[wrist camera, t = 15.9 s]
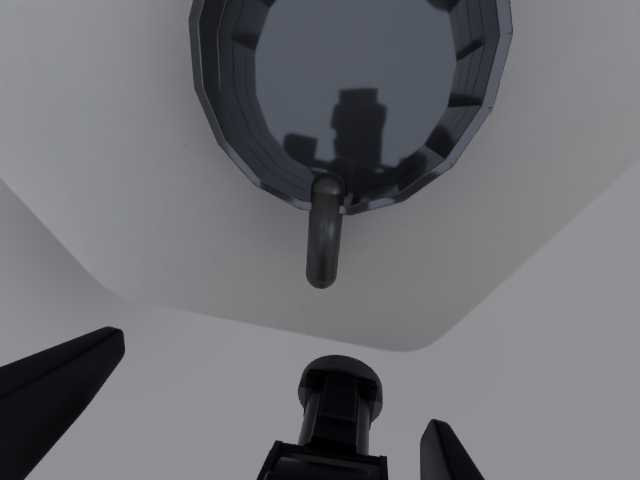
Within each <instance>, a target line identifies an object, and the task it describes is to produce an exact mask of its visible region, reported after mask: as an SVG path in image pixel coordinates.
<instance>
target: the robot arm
mask: <svg viewBox="0 0 640 480" xmlns="http://www.w3.org/2000/svg"><path fill="white" fill-rule="evenodd" d="M124 353H125V344H124V334H123V331H122V330H121V329H118V328H114V327H110V326H107V327H104V328H101V329H98V330H96V331H93V332H91V333H88V334H85V335H83V336H80V337H78V338H75V339H72V340H70V341H67V342H65V343H62V344H59V345H57V346H54V347H52V348H49V349H46V350H44V351H41V352H38V353H36V354H33V355H31V356H28V357H25V358H23V359H20V360H18V361H15V362H13V363H10V364H7V365H5V366H2V367H0V480H24V479H25V478H26V477H27V476H28V475H29V473H30V472H31V471H32V470H33V469H34V468H35V466H36V465H37V464H38V463H39V462H40V461H41V460H42V458H43V457H44V456H45V455H46V454H47V453H48V451H49V450H50V449H51V448H52V447H53V446H54V445H55V443H56V442H57V441H58V440H59V439H60V438H61V436H62V435H63V434H64V433H65V432H66V431H67V430H68V428H69V427H70V426H71V425H72V424H73V423H74V422H75V420H76V419H77V418H78V417H79V416H80V415H81V413H82V412H83V411H84V410H85V408H86V407H87V406H88V405H89V403H90V402H91V401H92V399H93V398H94V397H95V395H96V394H97V392H98V391H99V390H100V388H101V387H102V386H103V384H104V383H105V382H106V380H107V379H108V377H109V376H110V375H111V373H112V372H113V370H114V369H115V368H116V366H117V365H118V364H119V362H120V361H121V359H122V358H123V356H124ZM312 374H313V375H312ZM371 385H373V386H371ZM377 391H378V383H377V381H375V380H371V379H366V378H361V377H355V376H350V375H345V374H339V373H334V372H329V371H323V370H318V369H312V368H311V369H308V371H307V374H306V388H305V402H304V420H303V424H302V428H301V433H300V437H299V441H298V445H296V444H289V443H283V442H282V441H277V440H276V441H275V443H274V445H273V447H272V449H271V450H270V452H269V454H268V456H267V458H266V460H265V462H264V465H263V467H262V469H261V471H260V473H259V475H258V478H257V480H388V468H387V456H380V457H377V456H371V455H368V448H369V430H370V426H371V421H372V416H373V411H374V406H375V401H376V396H377ZM420 468H421V469H420V473H421V474H420V476H421V480H485V479H484V478H483V476H482V475H481V473H480V472H479V470H478V469H477V467H476V465H475V464H474V463H473V461H472V459H471V458H470V456H469V455H468V453H467V452H466V450H465V449H464V447H463V445H462V444H461V443H460V441H459V439H458V438H457V436H456V435H455V433H454V431H453V430H452V428H451V427H450V425H448V423H446V422H443V421H439V420H436V419H432V420H431V421H430V422H429V424H428V426H427V428H426V430H425V432H424V434H423V435H422V438H421V442H420Z"/></svg>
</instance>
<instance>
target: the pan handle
mask: <svg viewBox="0 0 640 480" xmlns="http://www.w3.org/2000/svg"><path fill="white" fill-rule="evenodd" d="M344 198H345V184H344V182H343V180H342V179H341V178H340V177H339V176H338V175H337V174H335V173H332V172H325V173H322V174H319V175H318V176H317V177H316V178H315V179H314V180H313V182H312V185H311V194H310V201H311V211H310V212H309V229H308V247H307V264H306V277H307V280H308V282H309V283H310V284H311V285H312V286H313V287H315V288H319V289H324V288H327V287H329V286H331V285H332V284H333V283H334V281H335V279H336V275H337V266H338V256H339V246H340V237H341V227H342V217H343V214H339V210H340V205H342V204H343V203H344Z"/></svg>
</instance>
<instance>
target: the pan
mask: <svg viewBox="0 0 640 480" xmlns="http://www.w3.org/2000/svg"><path fill="white" fill-rule="evenodd" d="M189 32H190V44H191V55H192V67H193V79H194V87H195V91H196V93H197V96H198V98H199V100H200V103H201V105H202V107H203V110H204V112H205V115H206V117H207V119H208V122H209V124H210V126H211V129H212V131H213V134H214V136H215V138H216V141H217V143H218V144H219V146H220V147H221V148H222V149H223V150H224V151H225V152H226V154H227V155H228V156H229V157H230V158H231V159H232V160H233V161H234V163H235V164H236V165H237V166H238V167H239V168H240V169H241V170H242V172H243V173H244V174H245V175H246V176H247V177H248V178H249V179H250V181H251V182H252V183H253V184H254V185H255V186H257V187H259V188H261V189H263V190H265V191H267V192H269V193H270V194H272V195H274V196H276V197H278V198H280V199H282V200H284V201H285V202H287V203H289V204H291V205H293V206H295V207H297V208H298V209H302V210H310V211H311V201H310V194H311V185H312V182H313V180H314V179H315V178H316V177H317V176H318V175H319V174H322V173H325V172H332V173H335V174H337V175H338V176H339V177H340V178H341V179H342V180H343V182H344V184H345V198H344V203H343V204H342V205H340V210H339V214H344V215H354V214H358V213H362V212H365V211H369V210H373V209H377V208H381V207H384V206H388V205H392V204H396V203H399V202H403V201H405V200H406V199H408V198H409V197H411V196H412V195H413V194H415V193H416V192H418V191H419V190H420V189H422V188H423V187H425V186H426V185H427V184H429V183H430V182H432V181H433V180H434V179H436V178H437V177H439V176H440V175H441V174H443V173H444V172H446V171H447V170H448V169H450V168H451V167H452V166H453V165H454V164H455V163H456V161H457V160H458V158H459V157H460V155H461V154H462V152H463V151H464V150H465V148H466V147H467V145H468V144H469V142H470V141H471V139H472V138H473V137H474V135H475V134H476V132H477V131H478V129H479V128H480V126H481V125H482V124H483V122H484V121H485V119H486V118H487V116H488V115H489V113H490V112H491V111H492V108H493V106H494V102H495V99H496V95H497V91H498V88H499V84H500V80H501V76H502V73H503V69H504V65H505V62H506V58H507V54H508V50H509V47H510V43H511V39H512V36H513V34H512V33H513V26H512V17H511V7H510V0H193V3H192V7H191V12H190V16H189Z"/></svg>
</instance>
